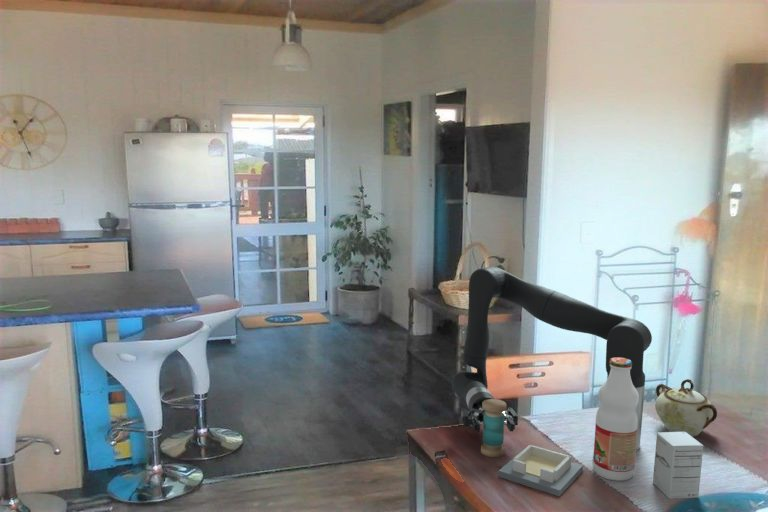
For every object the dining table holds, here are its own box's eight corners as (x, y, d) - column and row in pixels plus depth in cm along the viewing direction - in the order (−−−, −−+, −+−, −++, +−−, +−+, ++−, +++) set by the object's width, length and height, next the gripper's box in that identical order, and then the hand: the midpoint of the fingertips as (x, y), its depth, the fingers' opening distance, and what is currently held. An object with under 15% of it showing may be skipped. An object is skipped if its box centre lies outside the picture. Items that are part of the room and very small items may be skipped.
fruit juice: (627, 486, 149) (636, 369, 145) (587, 474, 155) (594, 361, 151) (638, 470, 157) (647, 359, 153) (599, 459, 162) (606, 351, 158)
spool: (487, 444, 170) (489, 397, 168) (508, 451, 166) (510, 402, 165) (476, 453, 165) (478, 404, 163) (498, 459, 162) (499, 409, 160)
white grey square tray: (524, 454, 165) (525, 439, 164) (582, 471, 156) (583, 455, 156) (498, 476, 153) (498, 460, 152) (559, 496, 144) (560, 479, 144)
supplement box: (651, 482, 151) (655, 431, 149) (681, 482, 152) (686, 430, 150) (667, 499, 144) (672, 445, 142) (699, 498, 144) (704, 444, 142)
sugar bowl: (732, 440, 175) (738, 386, 173) (693, 449, 169) (698, 394, 167) (672, 413, 193) (676, 365, 191) (635, 421, 186) (639, 371, 184)
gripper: (456, 391, 178) (468, 414, 162) (507, 390, 179) (524, 413, 163) (455, 417, 179) (466, 442, 163) (506, 416, 180) (522, 441, 164)
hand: (495, 428), depth 163 cm, fingers open, 8 cm apart
